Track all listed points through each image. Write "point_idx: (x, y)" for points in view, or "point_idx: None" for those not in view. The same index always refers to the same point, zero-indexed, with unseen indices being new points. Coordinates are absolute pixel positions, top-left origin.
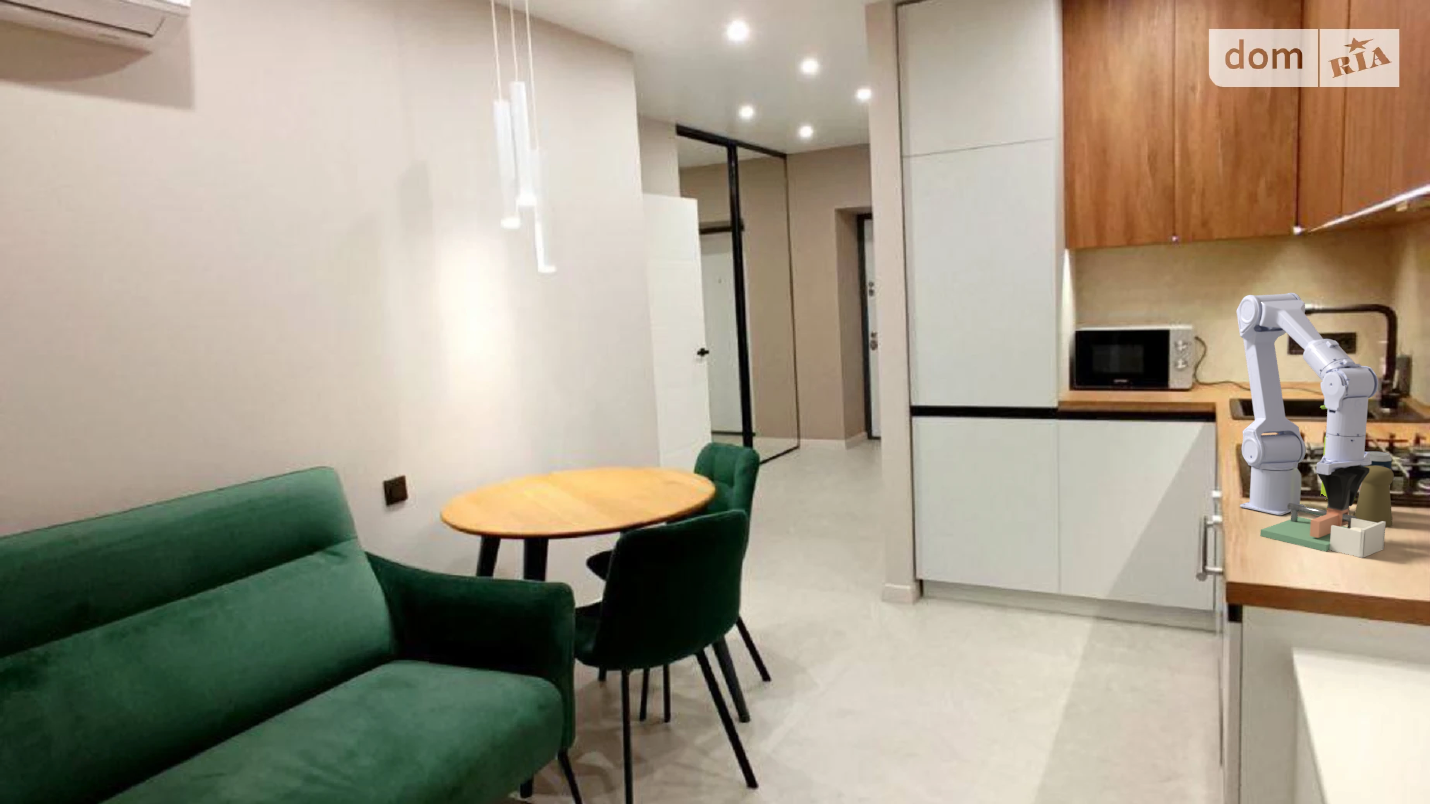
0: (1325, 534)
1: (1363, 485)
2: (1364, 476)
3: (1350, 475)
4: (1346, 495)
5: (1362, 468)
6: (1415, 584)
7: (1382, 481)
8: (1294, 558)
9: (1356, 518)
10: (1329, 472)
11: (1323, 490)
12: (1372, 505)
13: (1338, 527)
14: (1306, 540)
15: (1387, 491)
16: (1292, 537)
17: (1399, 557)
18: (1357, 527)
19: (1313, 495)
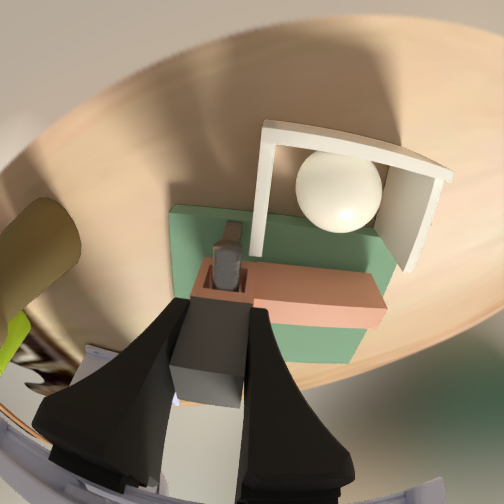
0: (332, 271)
1: (11, 316)
2: (83, 396)
3: (337, 479)
4: (262, 354)
5: (77, 452)
6: (494, 39)
7: None
8: (467, 262)
9: (214, 246)
10: (440, 489)
11: (23, 338)
12: (38, 258)
13: (419, 251)
14: (386, 286)
15: None
16: None
17: (322, 63)
18: (343, 207)
19: (32, 338)
